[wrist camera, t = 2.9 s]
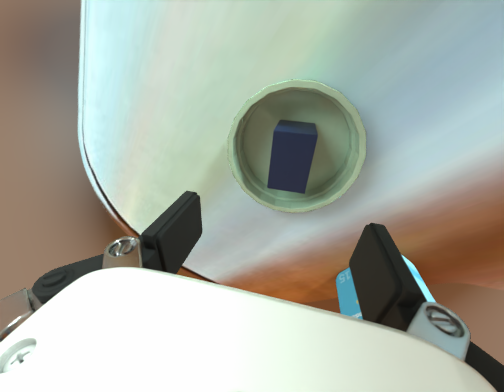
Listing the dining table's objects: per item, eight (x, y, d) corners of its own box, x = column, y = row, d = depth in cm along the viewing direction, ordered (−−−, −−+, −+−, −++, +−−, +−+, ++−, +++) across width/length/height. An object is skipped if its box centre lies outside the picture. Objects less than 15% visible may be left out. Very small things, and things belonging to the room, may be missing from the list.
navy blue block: (315, 123, 26) (318, 135, 20) (304, 172, 30) (304, 194, 24) (279, 119, 27) (273, 130, 21) (273, 168, 30) (266, 188, 25)
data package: (391, 243, 33) (430, 317, 23) (410, 258, 33) (456, 336, 23) (334, 274, 39) (344, 343, 29) (350, 287, 40) (366, 358, 30)
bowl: (377, 85, 23) (391, 86, 19) (337, 204, 31) (341, 221, 28) (238, 75, 25) (227, 74, 22) (236, 187, 34) (227, 201, 30)
